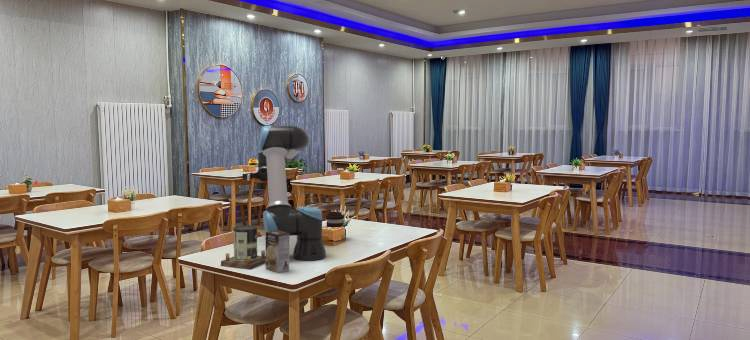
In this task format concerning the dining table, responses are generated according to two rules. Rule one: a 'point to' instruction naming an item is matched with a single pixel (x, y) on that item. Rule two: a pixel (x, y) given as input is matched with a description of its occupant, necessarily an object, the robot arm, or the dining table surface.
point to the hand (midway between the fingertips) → (262, 177)
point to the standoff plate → (245, 265)
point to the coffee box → (277, 251)
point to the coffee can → (245, 243)
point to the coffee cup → (334, 219)
